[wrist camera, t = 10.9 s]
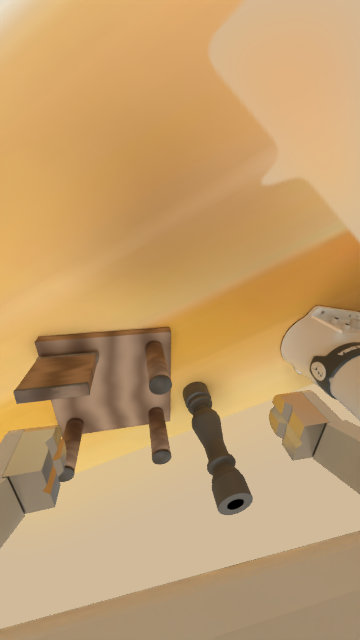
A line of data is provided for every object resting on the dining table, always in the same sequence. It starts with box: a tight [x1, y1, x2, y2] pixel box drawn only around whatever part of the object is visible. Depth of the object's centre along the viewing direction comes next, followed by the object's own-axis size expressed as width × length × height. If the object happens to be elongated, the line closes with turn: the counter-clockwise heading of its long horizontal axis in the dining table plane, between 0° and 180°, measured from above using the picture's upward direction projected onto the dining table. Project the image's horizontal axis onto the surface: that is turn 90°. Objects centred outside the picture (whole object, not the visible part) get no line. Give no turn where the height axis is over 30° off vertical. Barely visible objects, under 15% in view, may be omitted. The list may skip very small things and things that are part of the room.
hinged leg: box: [14, 352, 99, 404], centre depth 40 cm, size 10×2×11 cm, turn 89°
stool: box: [35, 327, 172, 482], centre depth 47 cm, size 25×25×14 cm
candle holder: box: [183, 382, 252, 515], centre depth 48 cm, size 6×6×25 cm
